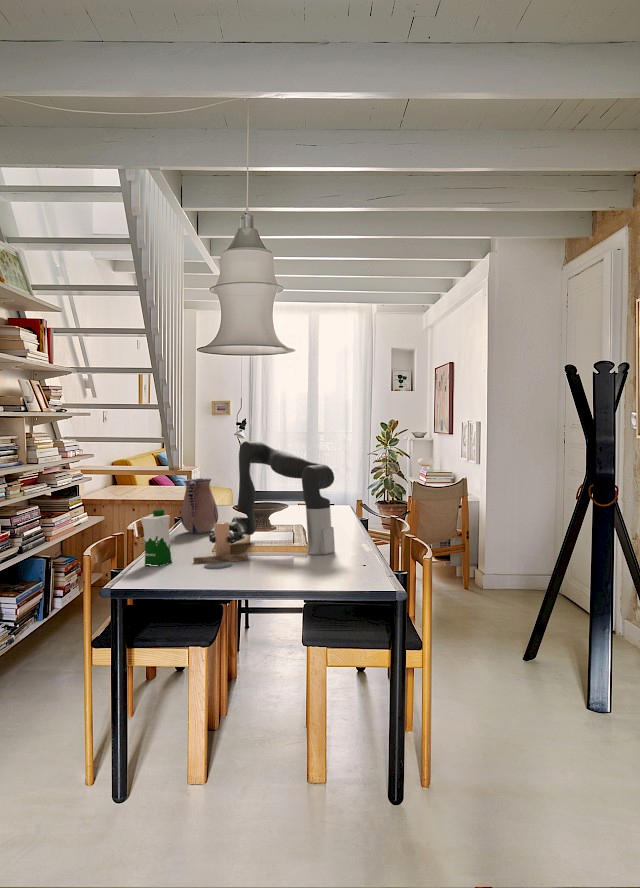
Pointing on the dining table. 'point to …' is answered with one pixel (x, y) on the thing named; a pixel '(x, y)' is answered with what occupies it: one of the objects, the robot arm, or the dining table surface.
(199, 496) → the ceramic pitcher
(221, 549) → the peach cylinder
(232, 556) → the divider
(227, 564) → the coaster
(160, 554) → the milk carton
